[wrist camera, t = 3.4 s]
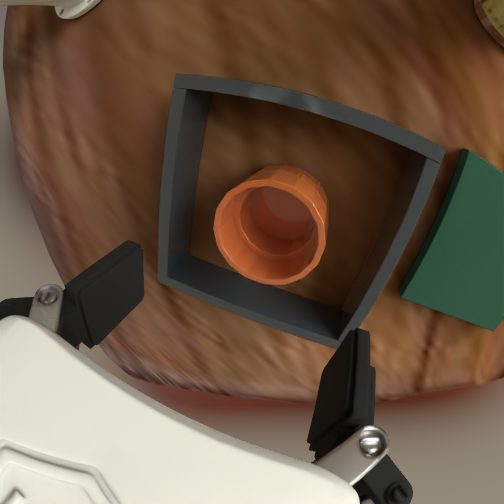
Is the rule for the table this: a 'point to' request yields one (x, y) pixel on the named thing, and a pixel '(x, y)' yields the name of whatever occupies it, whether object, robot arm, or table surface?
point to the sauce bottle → (492, 17)
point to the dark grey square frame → (252, 292)
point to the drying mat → (464, 249)
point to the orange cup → (273, 225)
